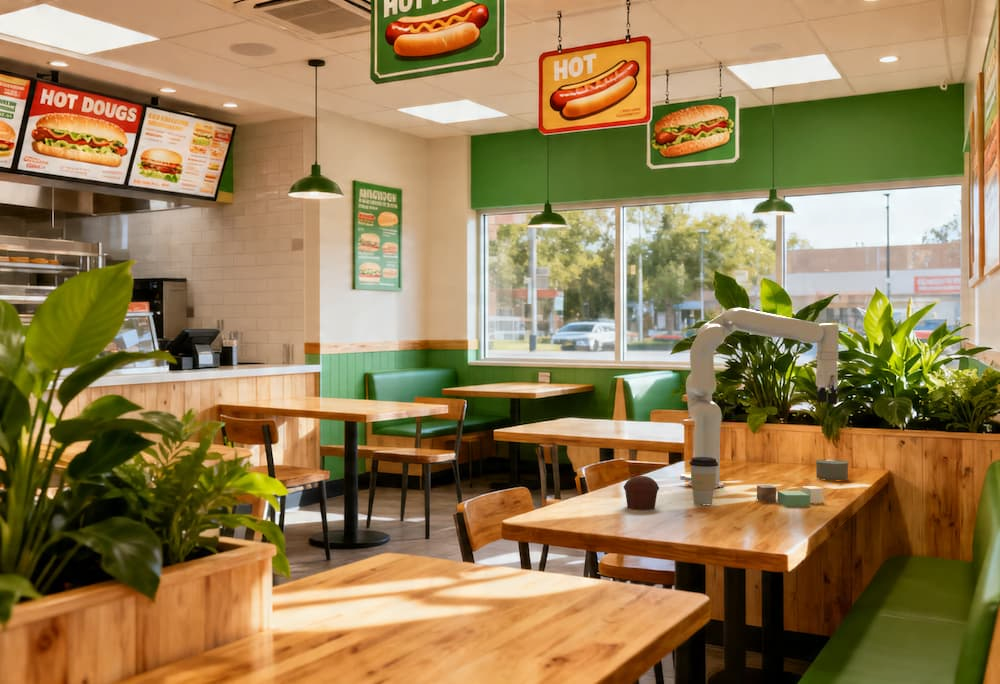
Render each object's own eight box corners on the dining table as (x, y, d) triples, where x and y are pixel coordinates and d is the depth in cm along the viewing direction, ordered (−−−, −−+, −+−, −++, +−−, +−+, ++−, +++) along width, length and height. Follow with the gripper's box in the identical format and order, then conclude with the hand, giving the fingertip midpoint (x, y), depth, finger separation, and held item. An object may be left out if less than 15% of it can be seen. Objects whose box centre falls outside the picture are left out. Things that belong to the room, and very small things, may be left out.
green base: (785, 507, 308) (785, 495, 308) (777, 502, 316) (777, 490, 316) (809, 507, 308) (809, 495, 308) (800, 502, 316) (801, 491, 316)
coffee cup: (686, 505, 308) (687, 459, 308) (691, 500, 317) (691, 456, 317) (715, 507, 305) (716, 461, 305) (719, 502, 314) (720, 457, 314)
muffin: (638, 512, 296) (638, 480, 296) (615, 506, 305) (616, 475, 305) (666, 508, 302) (666, 477, 302) (643, 503, 312) (644, 473, 311)
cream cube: (810, 503, 313) (810, 488, 313) (801, 501, 318) (801, 486, 318) (823, 503, 315) (823, 488, 315) (814, 500, 319) (814, 485, 319)
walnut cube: (761, 502, 315) (761, 487, 315) (756, 499, 320) (757, 485, 320) (776, 502, 316) (776, 487, 315) (771, 499, 321) (771, 485, 320)
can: (819, 480, 362) (819, 463, 362) (812, 476, 374) (813, 459, 374) (851, 481, 360) (852, 464, 360) (844, 477, 372) (844, 459, 372)
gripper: (809, 356, 356) (808, 401, 357) (826, 357, 339) (825, 404, 339) (828, 356, 357) (828, 401, 357) (847, 357, 339) (846, 404, 340)
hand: (827, 403), depth 348 cm, fingers open, 9 cm apart
